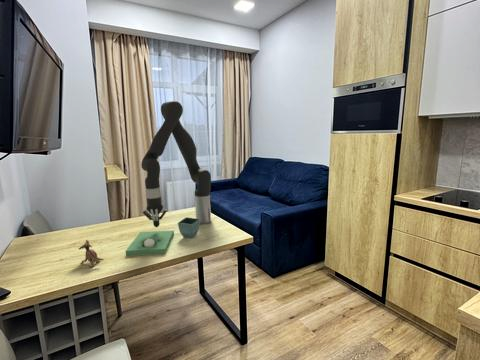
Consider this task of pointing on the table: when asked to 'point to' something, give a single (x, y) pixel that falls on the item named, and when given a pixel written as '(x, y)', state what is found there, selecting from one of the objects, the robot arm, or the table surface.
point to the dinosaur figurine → (90, 254)
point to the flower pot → (189, 227)
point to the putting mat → (160, 247)
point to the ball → (149, 243)
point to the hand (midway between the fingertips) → (156, 226)
